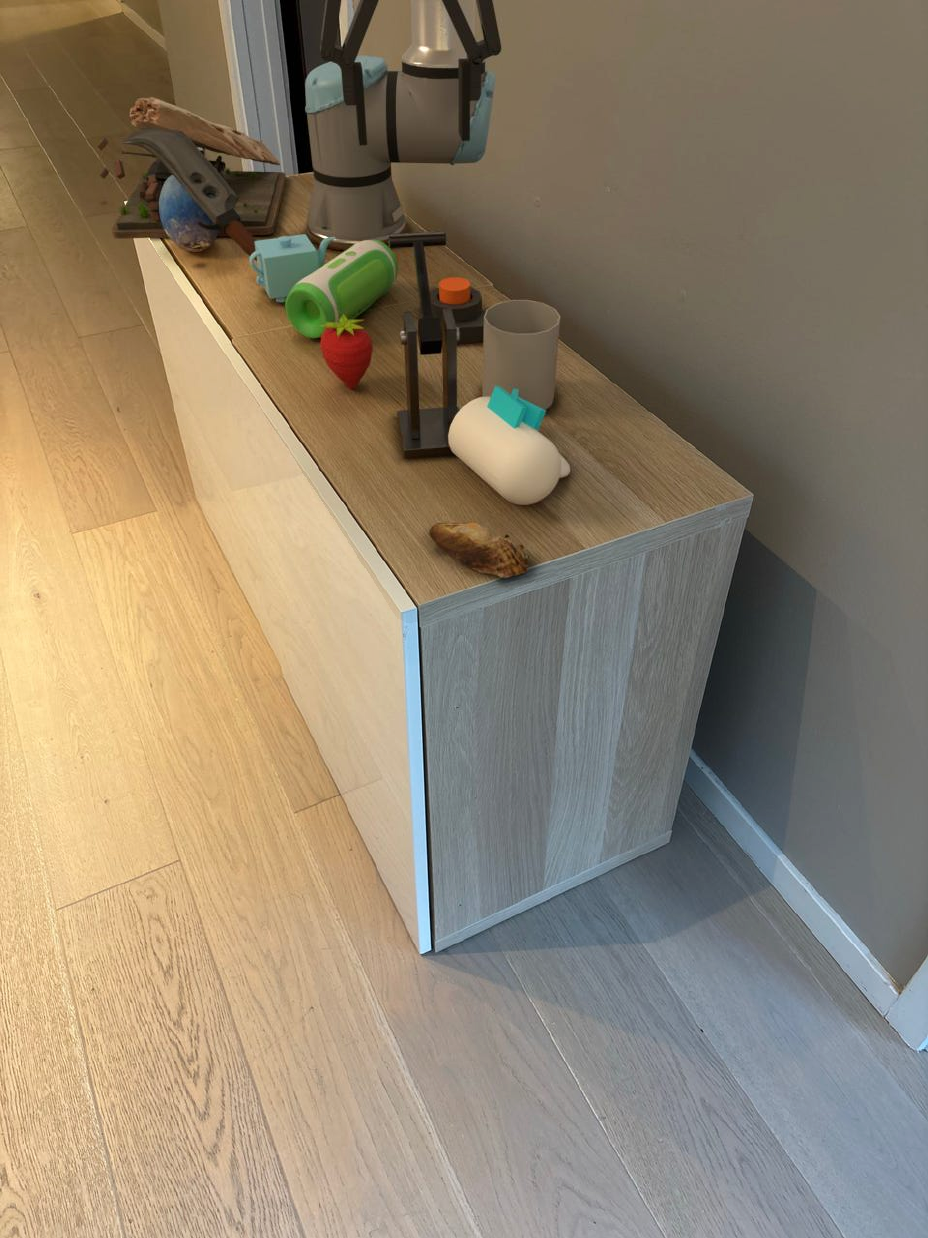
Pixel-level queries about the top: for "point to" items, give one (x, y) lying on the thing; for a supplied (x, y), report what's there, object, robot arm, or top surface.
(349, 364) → the strawberry
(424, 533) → the top surface
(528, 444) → the white handled jug
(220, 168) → the tank diorama
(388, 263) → the speaker
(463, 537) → the oyster shell
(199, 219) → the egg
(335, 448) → the top surface
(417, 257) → the lever
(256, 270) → the teapot
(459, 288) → the button
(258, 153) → the broken wood plank
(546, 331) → the cup
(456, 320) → the control block
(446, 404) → the bracket
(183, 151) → the knife
